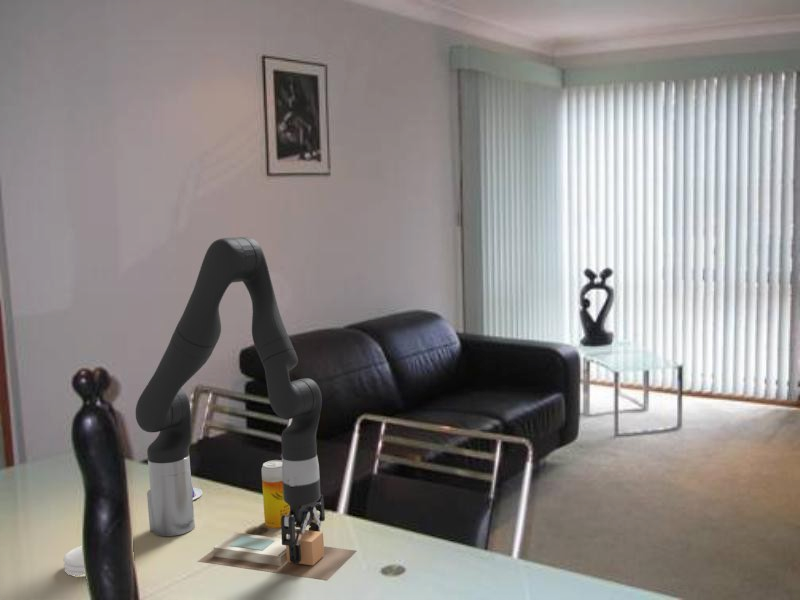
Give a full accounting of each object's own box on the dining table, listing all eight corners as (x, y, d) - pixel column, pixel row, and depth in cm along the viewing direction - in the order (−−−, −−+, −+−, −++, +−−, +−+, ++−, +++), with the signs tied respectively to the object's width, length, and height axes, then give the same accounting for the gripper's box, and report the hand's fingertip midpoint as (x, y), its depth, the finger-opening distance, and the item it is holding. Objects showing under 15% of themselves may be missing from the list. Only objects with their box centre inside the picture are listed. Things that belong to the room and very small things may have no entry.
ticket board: (198, 565, 174) (196, 551, 174) (234, 538, 187) (233, 525, 187) (327, 585, 163) (326, 569, 163) (357, 555, 176) (356, 541, 176)
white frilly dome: (85, 582, 169) (84, 566, 169) (54, 572, 174) (53, 556, 174) (125, 563, 178) (124, 547, 177) (94, 554, 183) (93, 538, 182)
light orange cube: (286, 561, 171) (285, 538, 171) (298, 551, 176) (297, 528, 175) (313, 565, 169) (311, 541, 169) (324, 555, 174) (322, 532, 173)
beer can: (286, 532, 190) (282, 468, 188) (261, 531, 191) (257, 467, 189) (295, 521, 196) (291, 459, 194) (270, 520, 197) (266, 459, 195)
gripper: (301, 464, 178) (305, 537, 180) (267, 487, 165) (272, 565, 167) (333, 467, 176) (337, 541, 178) (300, 491, 162) (305, 570, 165)
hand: (305, 553), depth 172 cm, fingers open, 8 cm apart
